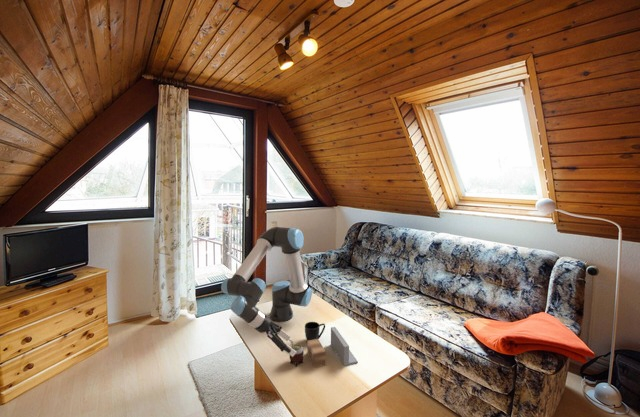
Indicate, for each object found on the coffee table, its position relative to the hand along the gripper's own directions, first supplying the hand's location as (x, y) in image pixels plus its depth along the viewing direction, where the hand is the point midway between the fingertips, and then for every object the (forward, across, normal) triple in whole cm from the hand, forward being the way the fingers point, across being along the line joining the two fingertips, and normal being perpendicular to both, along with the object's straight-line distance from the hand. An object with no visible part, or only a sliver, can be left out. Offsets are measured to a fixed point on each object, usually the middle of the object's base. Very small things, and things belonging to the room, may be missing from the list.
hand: (291, 346), depth 141 cm
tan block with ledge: (+16, -1, +2) cm, 16 cm away
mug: (+19, -17, +5) cm, 26 cm away
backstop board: (+27, -1, +13) cm, 30 cm away
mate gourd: (+9, -1, -5) cm, 10 cm away
